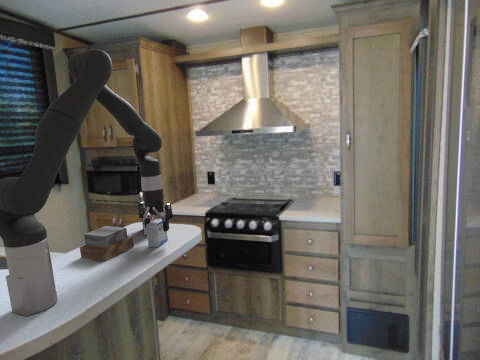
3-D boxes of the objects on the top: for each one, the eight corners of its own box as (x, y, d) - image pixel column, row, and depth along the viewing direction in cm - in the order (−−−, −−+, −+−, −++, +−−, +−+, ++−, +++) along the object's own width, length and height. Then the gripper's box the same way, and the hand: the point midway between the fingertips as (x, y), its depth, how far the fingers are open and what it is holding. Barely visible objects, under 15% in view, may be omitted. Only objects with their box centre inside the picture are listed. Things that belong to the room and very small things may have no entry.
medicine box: (159, 247, 125) (156, 224, 123) (148, 247, 125) (145, 224, 124) (168, 240, 132) (165, 218, 131) (157, 239, 133) (155, 218, 132)
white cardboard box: (156, 234, 140) (152, 195, 138) (143, 236, 139) (139, 196, 136) (154, 226, 151) (150, 190, 148) (143, 228, 149) (138, 191, 147)
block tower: (103, 261, 114) (100, 238, 113) (81, 257, 119) (78, 235, 118) (133, 247, 126) (131, 226, 125) (112, 244, 131) (109, 224, 130)
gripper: (130, 189, 125) (135, 231, 128) (160, 190, 119) (165, 235, 122) (144, 185, 132) (149, 225, 135) (174, 186, 125) (178, 228, 128)
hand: (157, 230), depth 128 cm, fingers open, 8 cm apart
